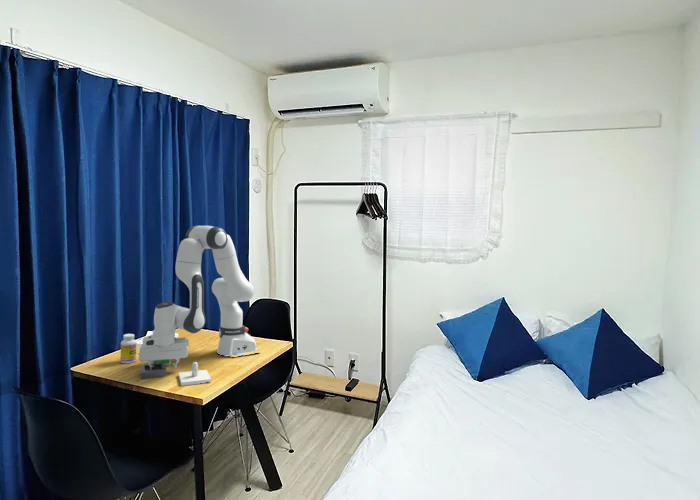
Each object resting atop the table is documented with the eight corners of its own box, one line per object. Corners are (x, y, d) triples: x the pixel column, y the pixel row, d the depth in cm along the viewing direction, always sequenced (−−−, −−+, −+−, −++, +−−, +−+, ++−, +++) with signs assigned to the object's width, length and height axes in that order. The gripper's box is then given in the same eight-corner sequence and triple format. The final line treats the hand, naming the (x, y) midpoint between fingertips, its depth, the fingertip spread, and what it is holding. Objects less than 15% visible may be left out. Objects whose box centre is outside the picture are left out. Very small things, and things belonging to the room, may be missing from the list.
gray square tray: (164, 368, 202) (164, 362, 202) (166, 376, 193) (166, 369, 193) (140, 371, 198) (140, 364, 197) (141, 379, 189) (141, 372, 189)
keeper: (206, 372, 200) (207, 356, 199) (210, 382, 189) (211, 365, 189) (178, 375, 195) (178, 359, 194) (181, 385, 184) (181, 368, 183)
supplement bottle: (129, 364, 205) (130, 337, 204) (117, 362, 206) (117, 336, 205) (139, 360, 211) (139, 334, 210) (127, 358, 213) (127, 332, 212)
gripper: (188, 335, 204) (187, 364, 205) (139, 338, 194) (138, 368, 195) (189, 338, 198) (188, 368, 199) (139, 342, 189) (138, 373, 190)
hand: (163, 368), depth 197 cm, fingers open, 8 cm apart
